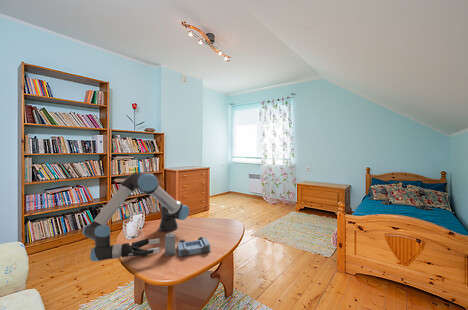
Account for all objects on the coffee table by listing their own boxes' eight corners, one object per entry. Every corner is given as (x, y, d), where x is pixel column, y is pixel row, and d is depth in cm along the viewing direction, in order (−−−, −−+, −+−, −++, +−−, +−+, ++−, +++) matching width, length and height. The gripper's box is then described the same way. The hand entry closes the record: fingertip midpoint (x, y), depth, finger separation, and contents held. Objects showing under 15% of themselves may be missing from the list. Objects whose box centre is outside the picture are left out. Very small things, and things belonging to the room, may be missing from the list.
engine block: (165, 251, 137) (164, 233, 137) (174, 250, 139) (174, 232, 139) (165, 256, 132) (165, 236, 131) (175, 254, 134) (175, 235, 133)
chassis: (177, 246, 145) (177, 240, 145) (205, 242, 152) (205, 236, 151) (179, 257, 130) (179, 250, 129) (211, 252, 136) (211, 245, 136)
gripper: (124, 247, 138) (159, 242, 145) (117, 267, 114) (159, 260, 121) (124, 236, 137) (159, 232, 144) (117, 254, 114) (159, 247, 121)
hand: (159, 245), depth 133 cm, fingers open, 13 cm apart
